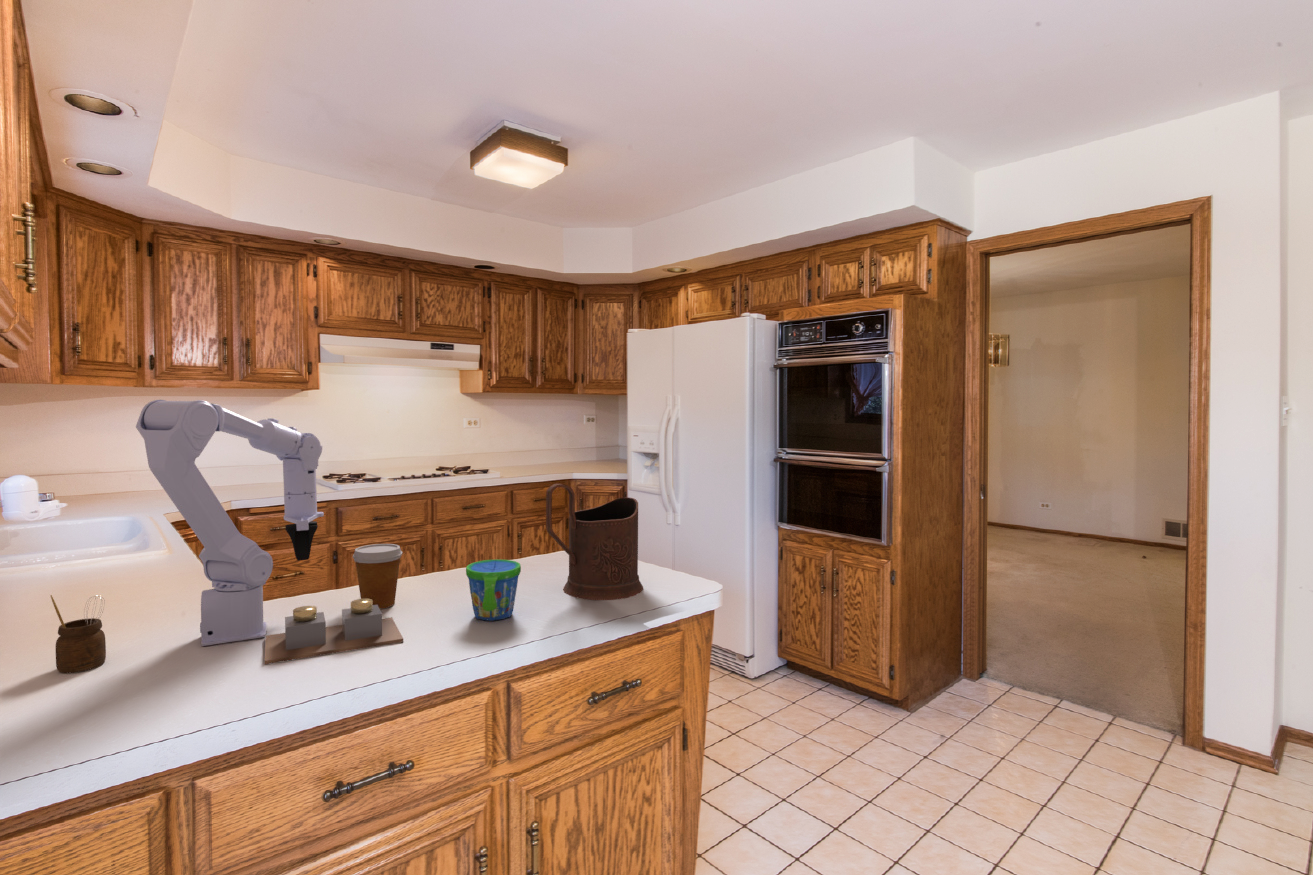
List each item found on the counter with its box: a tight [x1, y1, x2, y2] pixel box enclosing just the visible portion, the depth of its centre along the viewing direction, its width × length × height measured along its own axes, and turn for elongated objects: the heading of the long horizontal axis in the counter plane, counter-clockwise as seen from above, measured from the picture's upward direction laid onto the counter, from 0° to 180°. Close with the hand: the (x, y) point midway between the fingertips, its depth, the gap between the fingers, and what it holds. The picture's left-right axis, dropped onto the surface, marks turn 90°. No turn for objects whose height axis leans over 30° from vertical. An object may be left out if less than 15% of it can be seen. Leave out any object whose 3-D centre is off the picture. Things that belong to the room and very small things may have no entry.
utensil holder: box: [50, 595, 107, 674], centre depth 103 cm, size 6×6×12 cm
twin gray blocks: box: [284, 605, 383, 650], centre depth 115 cm, size 15×6×4 cm, turn 120°
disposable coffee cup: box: [352, 543, 403, 610], centre depth 136 cm, size 10×10×12 cm
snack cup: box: [465, 559, 522, 622], centre depth 130 cm, size 16×10×10 cm
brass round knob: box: [350, 598, 373, 614], centre depth 118 cm, size 4×4×6 cm
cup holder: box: [545, 483, 644, 601], centre depth 148 cm, size 18×24×25 cm
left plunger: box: [292, 605, 318, 621], centre depth 113 cm, size 4×4×6 cm
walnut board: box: [264, 617, 404, 665], centre depth 116 cm, size 21×13×1 cm, turn 120°
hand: (302, 559), depth 131 cm, fingers closed
